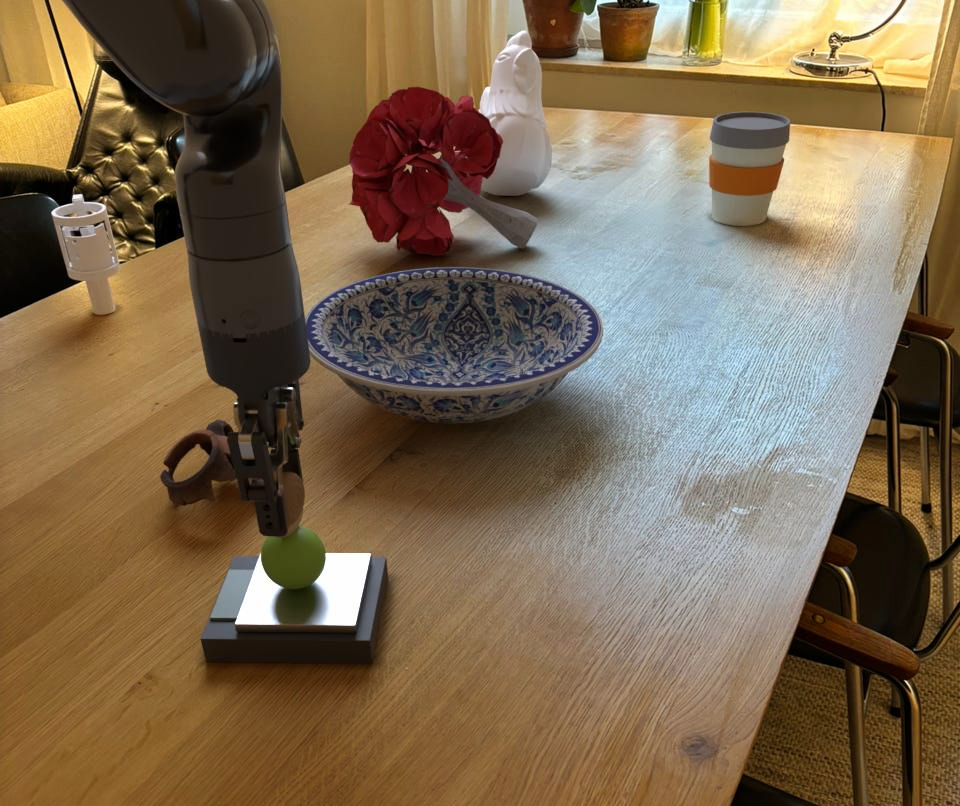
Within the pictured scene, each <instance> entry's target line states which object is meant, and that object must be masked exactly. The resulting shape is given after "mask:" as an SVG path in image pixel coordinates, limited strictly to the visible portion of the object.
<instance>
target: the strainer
mask: <svg viewBox="0 0 960 806" xmlns="http://www.w3.org/2000/svg"><path fill="white" fill-rule="evenodd" d="M88 212H89V213H90V212H93V213H91V214H88ZM71 214H76V215H77V216H66V215H71ZM51 218H52V221H53V224H54V229H55V232H56V235H57V239H58V242H59V243H58V244H59V246H60V250H61V254H62V257H63V261H64V264H65V268H66V271H67V276H68V277H69V278H70V279H72V280H73V281H74V280H75V281H78V282H79V281H81V282H85V285H86V289H87V293H88V296H89V300H90V304H91V307H92V312H93V314H95V315H99V316H101V315H102V316H103V315H109V314H112V313H114V312H115V311H116V306H115V301H114V298H113V294H112V290H111V285H110V282H109V278H112V277H115V276H116V275H117V274H120V272H121V270H122V269H121V265H120V264H121V263H120V260H119V256H118V251H117V248H116V247H117V246H116V244H115V239H114V235H113V230H112V227H111V223H110V219H109V214H108V209H107V206H106V205H105V204H104V203H100V202H95V201H85V199H84V196H83V193H80V194H79V193H78V194H73V195H72V203H68V204H64V205H60V206H58V207H56V208H54V209H53V210H52V211H51ZM103 221H104V222H103ZM98 223H99V224H98ZM95 224H98V225H97V226H95ZM61 227H62V228H61ZM74 231H79V232H80V235H81V236H72V234H71V232H74ZM74 241H75V242H74Z"/></svg>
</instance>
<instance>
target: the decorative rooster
mask: <svg viewBox="0 0 960 806" xmlns="http://www.w3.org/2000/svg"><path fill="white" fill-rule="evenodd" d="M532 45H533V41H532V38H531V36H530V34H529V32H528V31H527V30H521V31H519V32H518V33H516V34H515V35H513V36H511V37H510V38H509V40H508V41H507V42H506V44H505V47H504V49H503V50H502V51H500V52H499V54H498V55H497V57H496V58H495V60H494V62H493V65H492V69H491V77H490V84H489V86H486V87H485V88H484V90H483V92H482V95H481V97H480V101H479V110H478V112H479V113H481V114H483V115H484V116H485V117H487V118H488V119H489V120H490V124H491V127H492V128H494V129H495V130H496V133H497V134H499V135H500V136H501V137H502V140H503V144H502V148H501V151H500V157H499V158H498V160H497V164H496V167H495V169H494V172H493V174H492V175H491V176H490V177H489V178H488V179H486V178H484V177H483V181H482V185H481V189H480V190H481V191H483V192H486V193H487V194H491V195H493V196H509V197H519V196H523V195H524V194H527V193H528V192H530V191H532V190H536V189H538V188H539V187H540V186H542V185H543V183H544V182H545V181H546V179H547V177H548V175H549V173H550V171H551V168H552V164H553V163H552V162H553V149H552V143H551V140H550V136H549V132H548V131H547V128H548V124H547V122H546V117H545V113H544V108H543V101H542V100H543V99H542V87H543V72H542V70H543V69H542V65H541V62H540V58H539V57H538V55H537V54H536V52H535V51H534V50H533V48H532V47H533V46H532ZM466 158H467V157H466Z"/></svg>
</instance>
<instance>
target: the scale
mask: <svg viewBox="0 0 960 806" xmlns="http://www.w3.org/2000/svg"><path fill="white" fill-rule="evenodd" d="M259 556H260V555H233V556H232V558H231V562H230V564H229V567H228V569H227V571H226V573H225V576H224V579H223V581H222V584H221V586H220V589H219V591H218V594H217V597H216V599H215V601H214V604H213V607H212V609H211V611H210V614H209V617H208V619H207V622H206V624H205V626H204V629H203V631H202V634H201V637H200V643H201V646H202V650H203V655H204V659H205V662H206V663H265V664H266V663H269V664H270V663H273V664H274V663H275V664H276V663H279V664H353V665H354V664H357V665H358V664H361V665H363V664H365V665H366V664H367V665H368V664H369V665H370V664H371V665H372V664H374V659H375V658H374V657H375V651H376V647H377V646H376V645H377V641H378V637H379V631H380V626H381V622H382V621H381V620H382V615H383V610H384V605H385V600H386V599H385V598H386V595H387V588H388V584H389V572H388V571H389V570H388V561H387V560H388V559H387V556H371V558H372V562H371V566H370V571H369V576H368V581H367V585H366V590H365V595H364V599H363V604H362V609H361V613H360V618H359V623H358V627H357V632H356V633H318V632H236V629H235V622H236V619H237V616H238V614H239V611H240V608H241V605H242V603H243V600H244V597H245V594H246V592H247V589H248V586H249V583H250V581H251V578H252V575H253V572H254V570H255V567H256V564H257V561H258V559H259Z"/></svg>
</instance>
